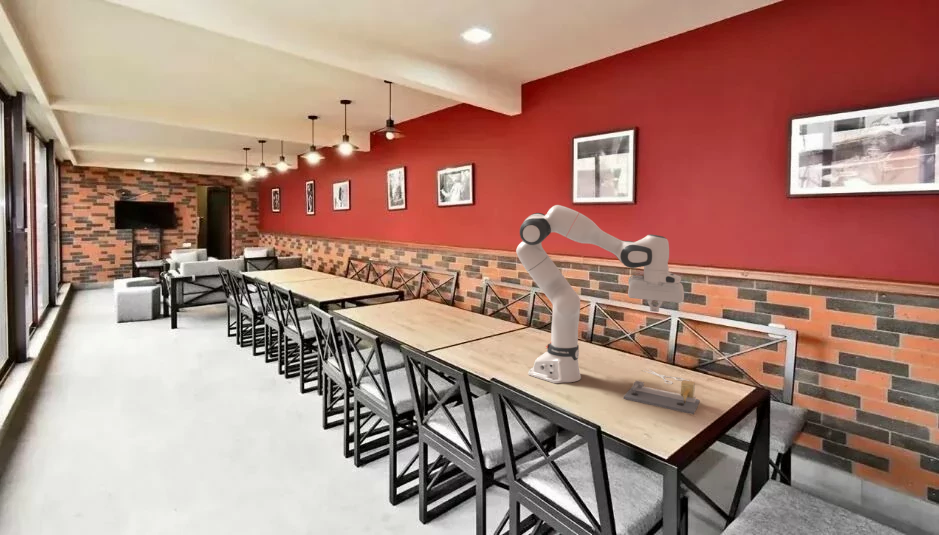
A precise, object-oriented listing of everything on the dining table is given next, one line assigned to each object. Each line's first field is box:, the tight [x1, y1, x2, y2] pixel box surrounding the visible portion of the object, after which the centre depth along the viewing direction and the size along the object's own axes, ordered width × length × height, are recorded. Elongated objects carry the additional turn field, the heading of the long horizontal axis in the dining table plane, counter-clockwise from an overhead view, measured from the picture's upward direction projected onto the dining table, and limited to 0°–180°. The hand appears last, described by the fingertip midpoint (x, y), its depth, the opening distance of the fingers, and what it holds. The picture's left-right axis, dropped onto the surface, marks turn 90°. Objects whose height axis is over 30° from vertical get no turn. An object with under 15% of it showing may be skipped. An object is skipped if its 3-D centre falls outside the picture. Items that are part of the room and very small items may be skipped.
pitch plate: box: [623, 380, 701, 415], centre depth 167 cm, size 24×12×4 cm, turn 55°
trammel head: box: [680, 379, 696, 403], centre depth 163 cm, size 4×7×6 cm, turn 145°
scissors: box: [641, 367, 691, 385], centre depth 193 cm, size 11×1×20 cm
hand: (654, 311), depth 176 cm, fingers closed
